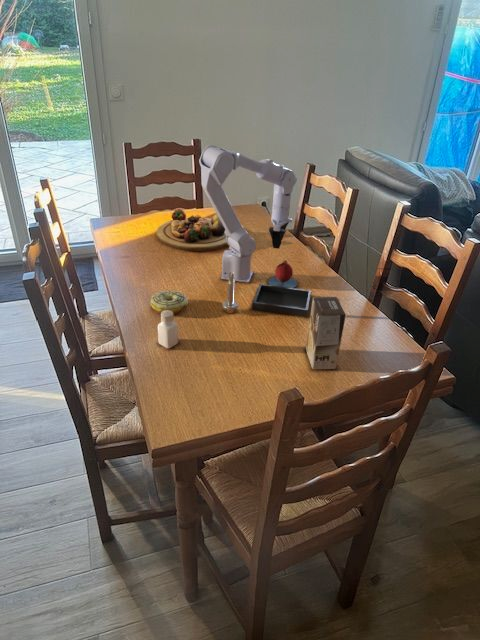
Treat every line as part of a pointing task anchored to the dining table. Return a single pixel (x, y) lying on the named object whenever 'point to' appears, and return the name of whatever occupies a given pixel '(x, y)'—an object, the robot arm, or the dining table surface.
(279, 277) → the onion
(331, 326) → the coffee box
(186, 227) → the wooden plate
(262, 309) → the tray
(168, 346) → the salt shaker
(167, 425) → the dining table surface
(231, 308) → the screw
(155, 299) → the decorated donut
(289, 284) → the mat
